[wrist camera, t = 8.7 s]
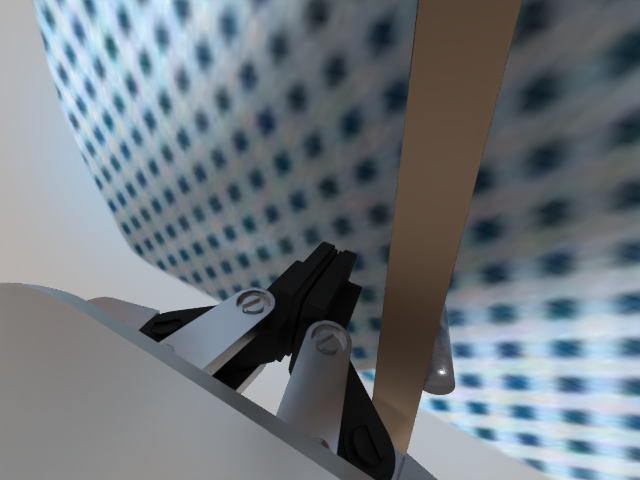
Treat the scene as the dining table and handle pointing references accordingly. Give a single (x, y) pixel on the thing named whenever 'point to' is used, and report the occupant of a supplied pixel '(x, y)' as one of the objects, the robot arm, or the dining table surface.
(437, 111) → the wooden plank on edge
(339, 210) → the dining table surface
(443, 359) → the post
